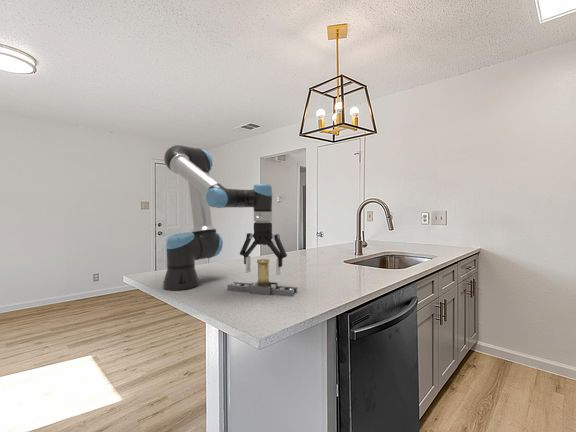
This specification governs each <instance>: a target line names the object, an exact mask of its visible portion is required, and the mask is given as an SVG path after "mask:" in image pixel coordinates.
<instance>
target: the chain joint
mask: <svg viewBox="0 0 576 432" xmlns="http://www.w3.org/2000/svg"><path fill="white" fill-rule="evenodd" d="M278 284H279V283H278V281H277V282H275V281H269V287H268V286H258V280H257V281H256V282H252V283H249V282H238V281H237V282H236V281H233V282H232V283H230V284H227V285H226V287H227V289H226V290H227V291H232V292H233V291H235V292H243V293H244V292H245V293H249V294H255V295H264V296H265V295H267V296H271V295H276V296H287V297H293V296H294V295H295V294H297V293H298V287H297V286H285V285H278Z"/></svg>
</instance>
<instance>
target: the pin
mask: <svg viewBox="0 0 576 432" xmlns="http://www.w3.org/2000/svg"><path fill="white" fill-rule="evenodd" d="M256 263H257V281H258V286H268V287H269V282H270V279H269V278H270V271H269V270H270V269H269V268H270V265H269V263H270V259H269V258H259V259H257V260H256Z"/></svg>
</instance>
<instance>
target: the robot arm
mask: <svg viewBox="0 0 576 432" xmlns="http://www.w3.org/2000/svg"><path fill="white" fill-rule="evenodd" d="M163 160H164V164H165V166H166V167H167V169H168V170H170V171H171V172H172V173H174V174H176V175H180V176H181V177H182V178H183V179H184V180H185V181H186V182H188V190H189V198H190V206H191V214H192V221H193V222H192V223H193V229H192V230H191V231H190V232H182V233H181V232H180V233H179V232H178V233H175V234H172V235H170V236H168V237H167V238H166V267H167V268H166V273H165V276H164V278H163V279H164V281H162V287H163V289H164V290H167V291H183V290H184V291H185V290H190V289H194V288H196V287H198V286H199V285H200V279H199V277H198V272H197V270H196V266H195V265H196V264H195V263H196V262H195V261H199V260H204V259H211V258H214V257H218V255H220V254H221V252H222V249H223V244H224V243H223V242H224V241H223V238H222V236H221V235H220V234H219V233H217V229H216V228H215V227H214V226H213V221H212V215H211V208H217V209H221V208H224V209H225V208H238V209H239V208H241V209H242V208H253V221H254V223H253V233H252V232H249V233H246V237H245V241H244V242H243V245H242V247H241V250H240V251H239V255H240V256H243V264H244V265H245V273H247V274H248V273H250V272H251V255H250V254H251V253H252V252H253V250H254V249H255V248H256V247H257V245H260V246H261V245H263V246H266V245H267V246H268V247H269V248H270V250H271V251H272V252H273V255H275V256H276V259H275V275H276V276H277V277H278V276H280V275H281V268H282V267H283V259H284V258H287V257H288V254H287V253H286V250H285V247H284V246H283V244H282V241H281V236H280V234H279V233H276V234H273V223H272V222H273V189H272V185H271V184H268V183H256V184H254V185H253V189H240V188H239V189H238V188H226V187H224V186H223V185H222V184H221V183H219V182H218V181H217V180H216V179H214V178H213V177H211V175H209V174H210V172H211V170H212V167H213V159H212V156H211V154H210V153H209V152H208V151H207V150H205V149H202V148H198V147H191V146H187V145H186V146H185V145H179V144H178V145H177V144H176V145H173V146H170V147H168V148H167V150H166V151H165V153H164V157H163ZM252 239H254V240H253V242H251V241H252ZM272 239H273V240H274V241H275V244H274V241H272ZM250 243H251V245H250ZM249 245H250V246H249ZM276 246H277V247H276Z"/></svg>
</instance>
